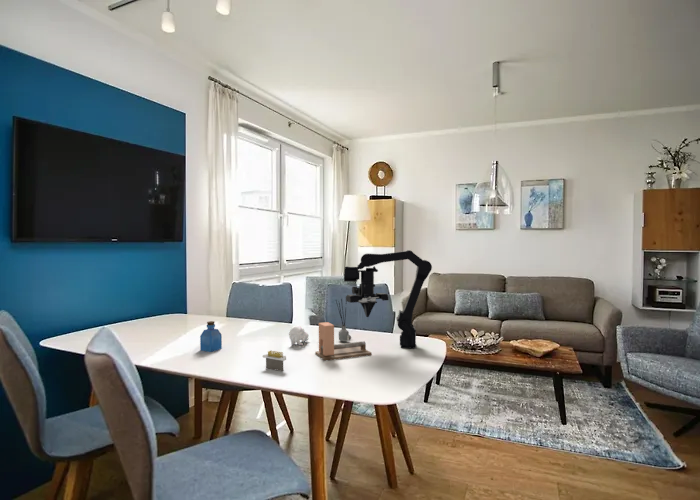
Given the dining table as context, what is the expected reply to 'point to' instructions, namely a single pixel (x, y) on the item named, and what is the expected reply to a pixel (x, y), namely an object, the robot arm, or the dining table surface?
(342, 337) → the reed diffuser
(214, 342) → the perfume bottle
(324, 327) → the peach rectangular block
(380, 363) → the dining table surface
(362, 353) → the pipe rig
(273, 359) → the platform
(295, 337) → the white lumpy figurine
